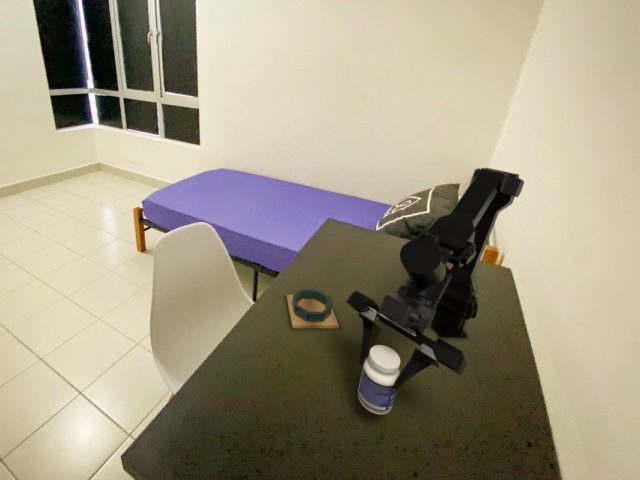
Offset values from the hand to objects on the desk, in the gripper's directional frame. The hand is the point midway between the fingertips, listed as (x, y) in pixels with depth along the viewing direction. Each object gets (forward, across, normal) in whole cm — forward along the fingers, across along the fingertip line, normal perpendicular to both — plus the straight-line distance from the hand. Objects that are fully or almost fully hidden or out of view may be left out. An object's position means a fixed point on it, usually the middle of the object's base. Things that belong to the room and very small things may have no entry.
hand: (376, 375), depth 53 cm
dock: (-2, -24, +18) cm, 30 cm away
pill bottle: (+4, 0, +6) cm, 7 cm away
